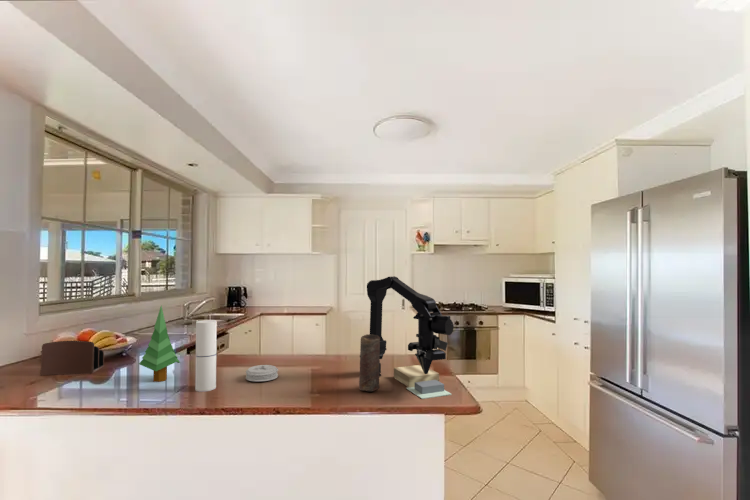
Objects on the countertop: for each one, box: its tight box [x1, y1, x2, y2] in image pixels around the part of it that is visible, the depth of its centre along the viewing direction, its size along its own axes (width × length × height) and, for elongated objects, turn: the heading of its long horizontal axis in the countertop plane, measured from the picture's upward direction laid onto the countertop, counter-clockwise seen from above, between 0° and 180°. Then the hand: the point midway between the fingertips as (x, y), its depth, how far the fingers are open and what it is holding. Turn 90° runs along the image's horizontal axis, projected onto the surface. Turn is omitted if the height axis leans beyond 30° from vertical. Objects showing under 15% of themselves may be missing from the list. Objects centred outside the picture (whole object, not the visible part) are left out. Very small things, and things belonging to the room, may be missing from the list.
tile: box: [415, 380, 445, 394], centre depth 148 cm, size 9×6×2 cm, turn 112°
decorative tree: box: [138, 305, 182, 383], centre depth 161 cm, size 14×16×30 cm
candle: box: [358, 333, 380, 393], centre depth 149 cm, size 8×7×20 cm
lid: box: [245, 364, 279, 382], centre depth 163 cm, size 13×13×5 cm
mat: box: [406, 387, 452, 400], centre depth 147 cm, size 12×12×1 cm
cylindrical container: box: [194, 319, 218, 393], centre depth 151 cm, size 7×7×25 cm
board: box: [393, 364, 440, 388], centre depth 160 cm, size 13×14×4 cm
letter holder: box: [40, 340, 105, 376], centre depth 173 cm, size 10×20×14 cm, turn 100°
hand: (426, 373), depth 150 cm, fingers closed
